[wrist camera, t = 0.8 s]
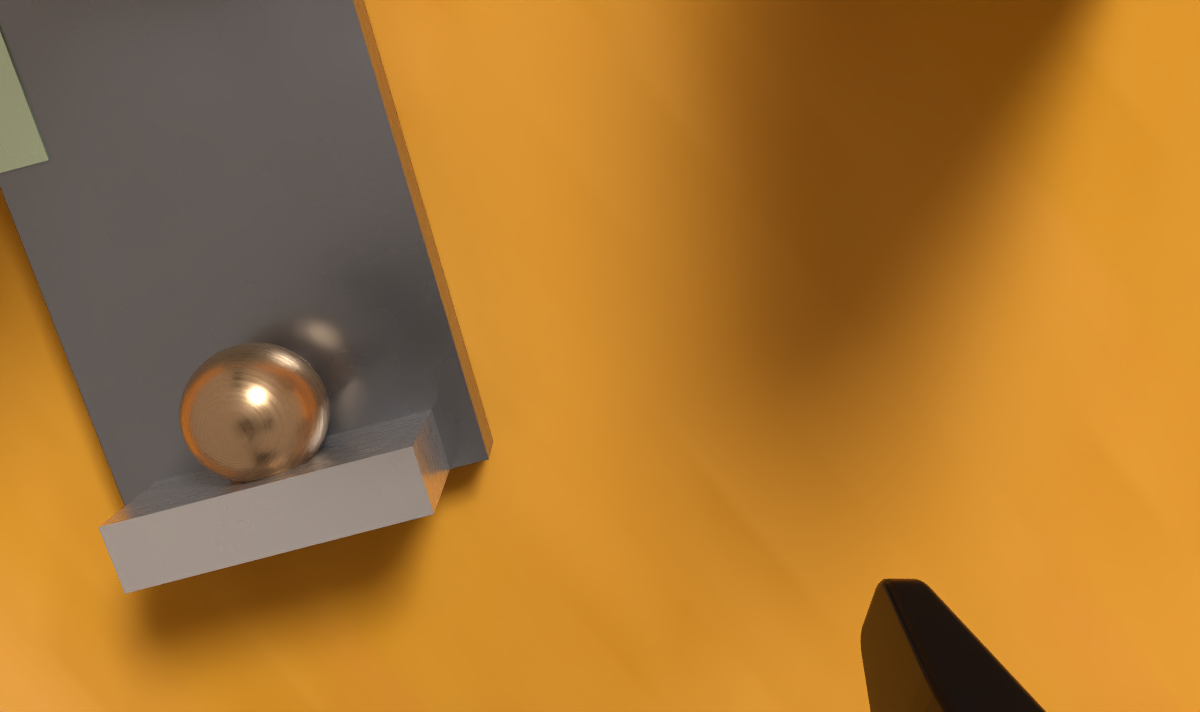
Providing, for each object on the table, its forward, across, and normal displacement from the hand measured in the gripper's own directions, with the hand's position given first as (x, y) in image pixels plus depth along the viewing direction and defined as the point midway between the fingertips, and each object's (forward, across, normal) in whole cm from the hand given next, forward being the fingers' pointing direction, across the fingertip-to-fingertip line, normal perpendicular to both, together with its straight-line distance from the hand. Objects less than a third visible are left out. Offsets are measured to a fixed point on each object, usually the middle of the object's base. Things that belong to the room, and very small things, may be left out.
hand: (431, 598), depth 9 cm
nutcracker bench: (+16, +8, +1) cm, 18 cm away
